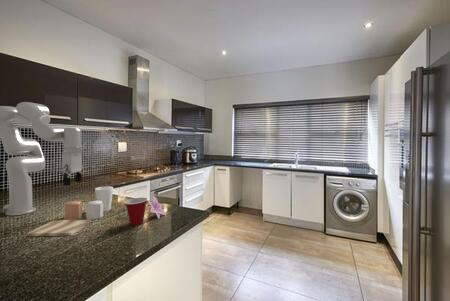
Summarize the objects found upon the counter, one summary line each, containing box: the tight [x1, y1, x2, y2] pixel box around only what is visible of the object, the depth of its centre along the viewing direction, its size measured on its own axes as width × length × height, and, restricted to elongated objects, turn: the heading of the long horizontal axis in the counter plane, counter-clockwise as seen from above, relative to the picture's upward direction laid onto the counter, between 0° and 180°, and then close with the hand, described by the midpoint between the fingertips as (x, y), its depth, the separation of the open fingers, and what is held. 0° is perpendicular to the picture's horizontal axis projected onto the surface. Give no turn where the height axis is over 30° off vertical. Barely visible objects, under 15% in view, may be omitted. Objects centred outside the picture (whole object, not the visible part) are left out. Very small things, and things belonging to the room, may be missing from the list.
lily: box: [147, 196, 167, 219], centre depth 119 cm, size 12×12×10 cm
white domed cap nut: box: [85, 200, 104, 221], centre depth 116 cm, size 7×7×8 cm
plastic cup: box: [123, 197, 148, 226], centre depth 108 cm, size 11×11×12 cm
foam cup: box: [94, 186, 114, 212], centre depth 129 cm, size 10×9×13 cm
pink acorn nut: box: [63, 200, 83, 220], centre depth 115 cm, size 7×7×8 cm
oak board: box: [26, 219, 92, 237], centre depth 101 cm, size 18×16×1 cm
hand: (73, 183), depth 115 cm, fingers open, 9 cm apart
